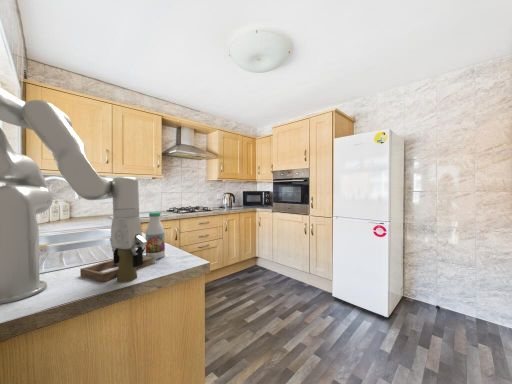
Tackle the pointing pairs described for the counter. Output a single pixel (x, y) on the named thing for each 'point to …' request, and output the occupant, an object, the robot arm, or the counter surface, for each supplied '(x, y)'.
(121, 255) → the cork
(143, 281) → the counter surface
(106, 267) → the keyhole board
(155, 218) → the milk bottle
